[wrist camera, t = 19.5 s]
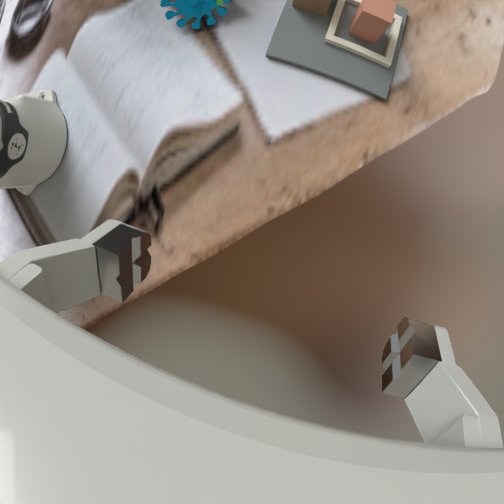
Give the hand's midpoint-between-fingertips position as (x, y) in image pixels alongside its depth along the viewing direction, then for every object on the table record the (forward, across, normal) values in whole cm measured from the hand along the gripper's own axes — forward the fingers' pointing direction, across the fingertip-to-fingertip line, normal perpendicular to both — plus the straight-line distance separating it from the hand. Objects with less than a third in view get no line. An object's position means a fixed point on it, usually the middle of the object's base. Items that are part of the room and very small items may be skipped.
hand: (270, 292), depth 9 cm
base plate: (+42, -2, +16) cm, 45 cm away
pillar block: (+42, +1, +17) cm, 45 cm away
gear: (+38, -22, +15) cm, 47 cm away
